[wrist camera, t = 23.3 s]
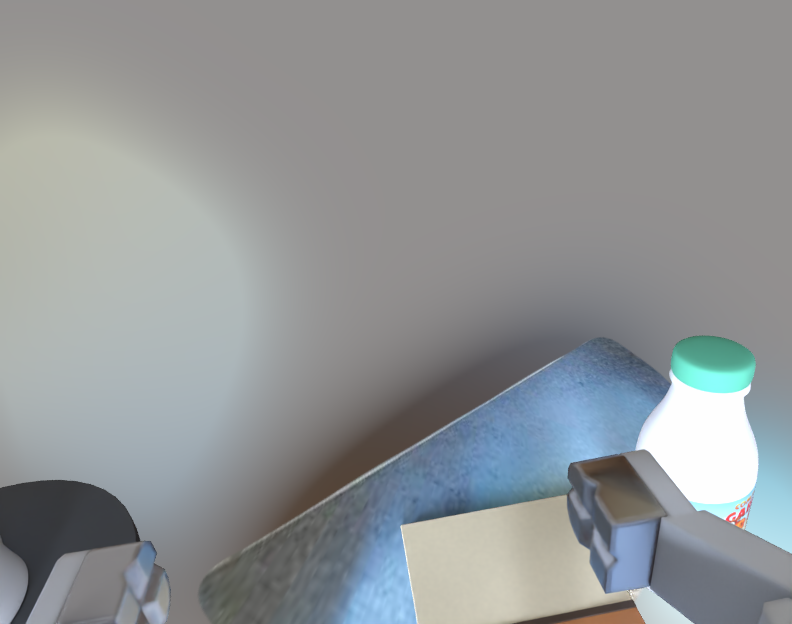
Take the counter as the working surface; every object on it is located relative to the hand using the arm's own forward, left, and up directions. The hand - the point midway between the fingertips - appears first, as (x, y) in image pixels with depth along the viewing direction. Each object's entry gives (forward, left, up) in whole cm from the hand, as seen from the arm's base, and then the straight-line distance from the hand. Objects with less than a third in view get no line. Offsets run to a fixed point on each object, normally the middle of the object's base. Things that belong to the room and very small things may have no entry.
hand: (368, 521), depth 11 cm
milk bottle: (+22, +19, -32) cm, 43 cm away
